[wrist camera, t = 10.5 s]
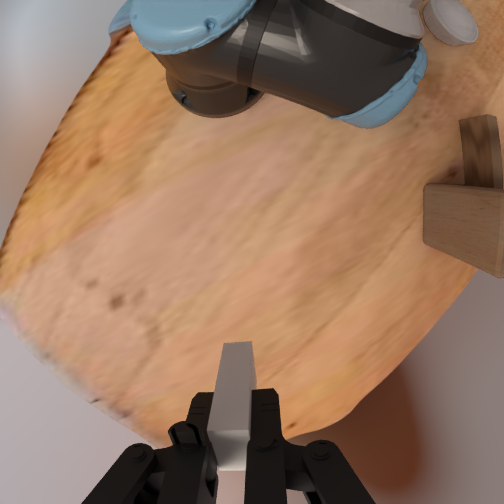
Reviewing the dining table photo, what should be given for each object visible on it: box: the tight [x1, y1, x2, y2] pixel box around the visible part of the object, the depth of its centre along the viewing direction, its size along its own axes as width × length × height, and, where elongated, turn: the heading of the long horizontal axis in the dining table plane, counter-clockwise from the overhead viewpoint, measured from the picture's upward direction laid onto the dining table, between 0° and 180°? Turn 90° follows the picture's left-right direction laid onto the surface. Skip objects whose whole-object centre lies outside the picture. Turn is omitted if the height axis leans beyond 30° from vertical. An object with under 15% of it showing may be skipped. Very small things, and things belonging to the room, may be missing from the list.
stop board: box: [459, 115, 503, 189], centre depth 37 cm, size 22×2×8 cm, turn 6°
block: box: [423, 184, 504, 278], centre depth 33 cm, size 10×10×20 cm
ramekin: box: [423, 0, 478, 46], centre depth 32 cm, size 11×11×5 cm
